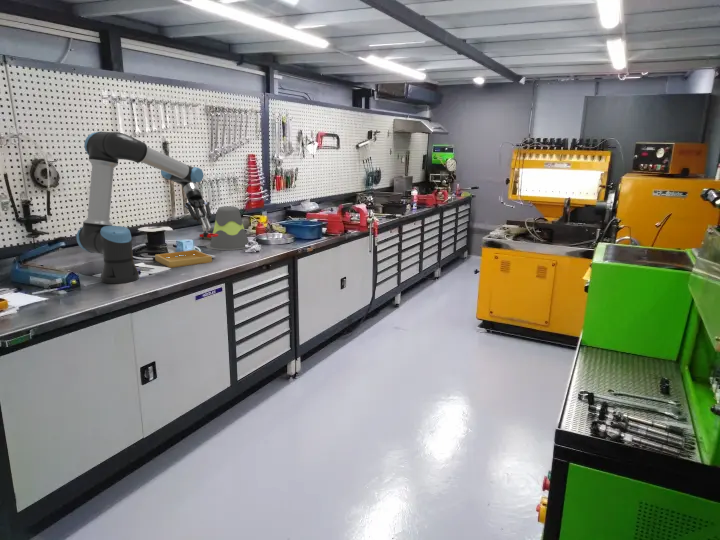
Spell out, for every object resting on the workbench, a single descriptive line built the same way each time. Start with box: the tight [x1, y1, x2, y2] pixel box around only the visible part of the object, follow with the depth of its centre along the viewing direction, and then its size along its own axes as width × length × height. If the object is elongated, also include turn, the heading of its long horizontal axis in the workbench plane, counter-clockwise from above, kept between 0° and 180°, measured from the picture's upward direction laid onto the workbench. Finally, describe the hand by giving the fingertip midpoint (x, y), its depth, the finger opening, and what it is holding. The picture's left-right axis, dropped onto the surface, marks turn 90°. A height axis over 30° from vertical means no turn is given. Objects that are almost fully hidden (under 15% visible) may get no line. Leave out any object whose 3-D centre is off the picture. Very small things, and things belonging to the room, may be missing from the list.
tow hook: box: [199, 212, 218, 239], centre depth 250 cm, size 8×13×9 cm
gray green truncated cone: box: [205, 205, 250, 251], centre depth 290 cm, size 28×28×24 cm
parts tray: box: [154, 249, 213, 269], centre depth 249 cm, size 22×20×3 cm
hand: (207, 229), depth 245 cm, fingers closed on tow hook, 2 cm apart
